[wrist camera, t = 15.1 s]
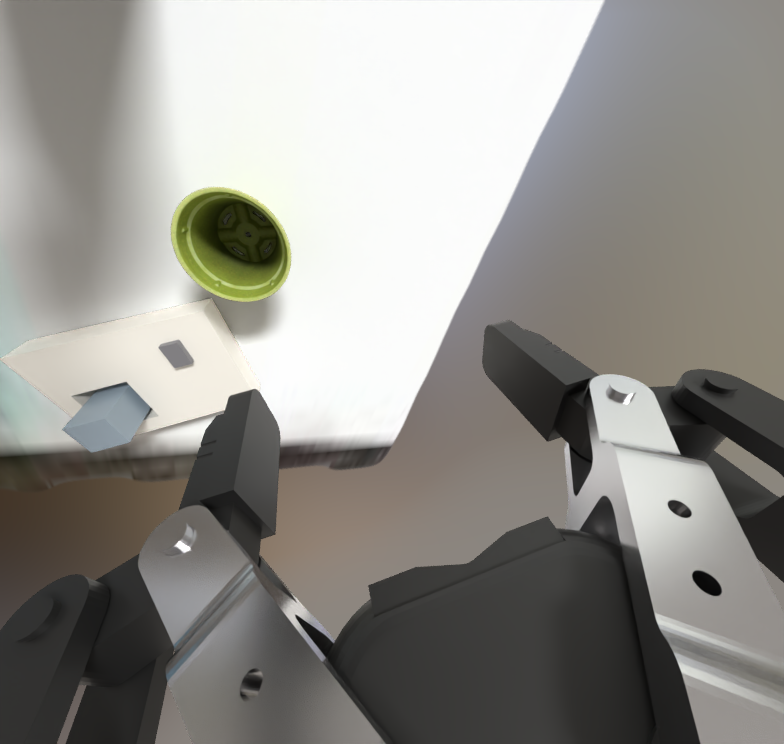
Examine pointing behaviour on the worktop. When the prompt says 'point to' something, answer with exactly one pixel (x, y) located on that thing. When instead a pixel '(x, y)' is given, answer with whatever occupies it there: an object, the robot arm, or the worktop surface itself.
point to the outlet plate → (142, 363)
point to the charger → (108, 418)
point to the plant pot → (230, 244)
